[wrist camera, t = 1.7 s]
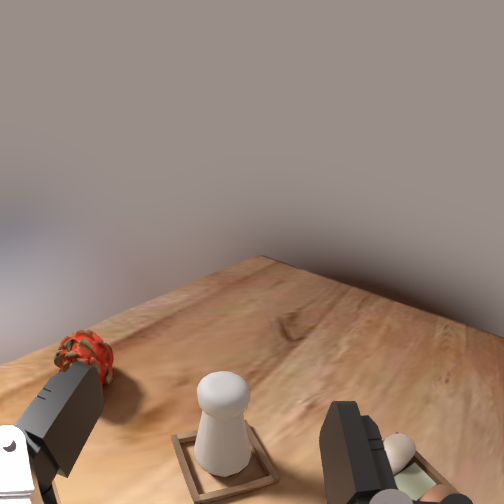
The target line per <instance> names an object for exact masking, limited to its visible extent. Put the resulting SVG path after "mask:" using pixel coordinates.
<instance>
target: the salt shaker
mask: <svg viewBox="0 0 504 504" xmlns="http://www.w3.org/2000/svg"><path fill="white" fill-rule="evenodd" d="M197 395H198V403H199V406H200V407H201V408H202V410H203V412H202V416H201V420H200V425H199V429H198V433H197V438H196V442H195V446H194V452H195V459H196V461H197V462H198V463H199V465H200V466H201V467H202V469H203V470H205V471H206V472H208V473H210V474H213V475H217V476H221V477H224V478H226V477H228V476H229V475H232V474H235V473H239V472H240V471H241V470H242V469H244V468H245V467H246V466H247V465H248V463H249V460H250V457H251V449H250V445H249V440H248V436H247V431H246V426H245V421H244V416H243V412H244V411H245V410H246V409H247V406H248V403H249V400H250V390H249V387H248V383H247V382H246V381H245V380H244V379H243V378H242V377H241V376H238V375H236V374H233V373H231V372H223V371H220V372H215V373H211V374H209V375H207V376H206V377H204V378H203V379H202V380H201V382H200V383H199V385H198V389H197Z"/></svg>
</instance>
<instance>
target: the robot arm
mask: <svg viewBox="0 0 504 504" xmlns="http://www.w3.org/2000/svg"><path fill="white" fill-rule="evenodd" d="M103 407H104V395H103V392H102V388H101V384H100V380H99V376H98V372H97V369H96V367H94V366H90V365H87V364H83V363H80V362H74V363H73V364H72V365H71V366H70V368H69V369H68V370H67V372H66V373H65V372H62V371H61V372H60V373H58V374H56V375H55V376H53V377H52V378H50V379H49V381H48V382H47V383H46V384H45V386H44V387H43V390H41V391H40V392H39V393H38V395H37V398H36V397H35V399H34V400H33V401H32V403H31V404H30V405H29V407H28V408H27V409H26V411H25V412H24V413H23V415H22V416H21V417H20V419H19V420H18V421H17V423H16V424H15V425H14V426H13V427H12V426H3V427H0V504H61V502H60V498H59V495H58V492H57V488H56V485H55V482H54V478H55V476H56V474H59V475H62V476H64V477H66V478H68V476H69V474H70V472H71V470H72V468H73V466H74V464H75V462H76V460H77V458H78V456H79V454H80V452H81V450H82V448H83V447H84V445H85V443H86V441H87V439H88V437H89V435H90V433H91V431H92V429H93V428H94V426H95V424H96V422H97V420H98V418H99V416H100V415H101V413H102V410H103ZM381 439H382V437H381V434H380V431H379V428H378V426H377V425H376V424H375V422H374V421H373V420H372V419H371V418H370V417H369V415H367V416H361V415H360V412H359V409H358V405H357V403H356V402H355V401H333V402H332V403H331V405H330V408H329V410H328V413H327V415H326V418H325V420H324V423H323V425H322V428H321V431H320V437H319V445H320V452H321V459H322V466H323V474H324V481H325V489H326V497H327V504H473V503H472V501H471V500H470V499H469V498H468V497H467V496H465V495H463V494H458V493H454V494H450V495H448V496H446V497H445V498H444V499H442V500H441V501H440V502H427V501H415V500H412V499H411V498H410V497H409V496H408V495H407V494H406V493H404V492H402V491H400V490H399V489H398V487H397V485H396V482H395V478H394V475H393V472H392V469H391V465H390V462H389V459H388V456H387V453H386V450H385V447H384V444H383V441H382V440H381Z"/></svg>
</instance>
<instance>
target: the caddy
mask: <svg viewBox="0 0 504 504" xmlns="http://www.w3.org/2000/svg"><path fill="white" fill-rule="evenodd" d="M383 444H384V447H385V450H386V453H387V456H388V459H389V462H390V465H391V469H392V472H393V475H394V478H395V482H396V485H397V487H398V489H399V490H400V491H402V492H404V493H406V494H407V495H408V496H409V497H410V498H411V499H412V500H415V501H427V502H440V501H441V500H442V499H444V498H445V497H446V496H448V495H450V494H454V493H458V494H460V493H459V492H458V491H457V490H456V489H455V488H454V487H453V486H452V485H451V484H450V483H449V482H448V481H447V480H446V479H445V478H444V477H443V476H442V475H441V474H440V473H439V472H438V471H437V470H435V469H434V468H433V467H432V466H431V465H430V464H429V463H428V462H427V461H426V460H425V459H424V458H423V457H422V456H421V455H420V454H419V453H418V452H417V451H416V445H415V443H414V441H413V440H412V439H411V438H410V437H408V436H406V435H404V434H399V433H398V432H396V433H395V434H392V435H390V436H388V437H387V438H386V439H385V440H383Z"/></svg>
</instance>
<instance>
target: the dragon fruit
mask: <svg viewBox="0 0 504 504" xmlns="http://www.w3.org/2000/svg"><path fill="white" fill-rule="evenodd" d="M61 349H62V350H61ZM58 350H61V351H59V352H58V353H56V354H55V356H54V364H55V365H56V366H58V367H59V368H61V369H60V371H59V373H60V372H61V371H62V372H65V373H66V372H67V370H68V369H69V368H70V366H71V365H72V364H73V363H74V362H80V363H83V364H87V365H90V366H94V367H96V369H97V372H98V376H99V380H100V384H101V388H102V389H103V386H102V384H104V383H106V385H108V384H111V383H112V382H113V377H114V372H113V369H112V364H113V352H112V349H111V347H110V346H109V345H108V344H107V343H103V339H101V338H100V337H99V336H98V335H97V334H96V333H94V332H93V331H90V330H88V331H84V330H79V331H77V332H76V334H72V336H71V337H68V336H66V337H65V338H64V339H63V340H62V341H61V347H59V349H58Z"/></svg>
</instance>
